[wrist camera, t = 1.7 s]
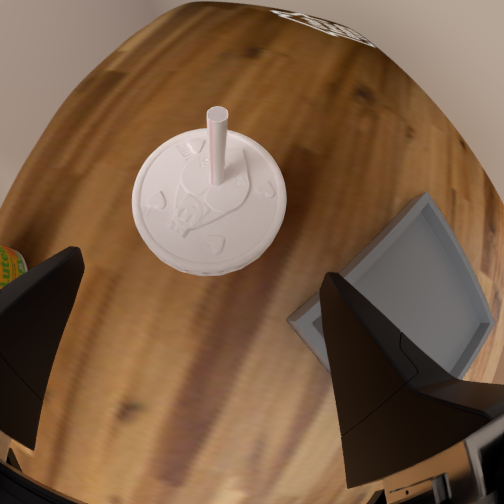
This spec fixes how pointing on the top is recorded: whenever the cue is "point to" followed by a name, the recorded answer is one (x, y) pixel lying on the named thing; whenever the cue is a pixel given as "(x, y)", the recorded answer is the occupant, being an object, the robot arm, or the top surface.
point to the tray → (415, 289)
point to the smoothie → (209, 199)
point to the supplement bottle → (10, 265)
